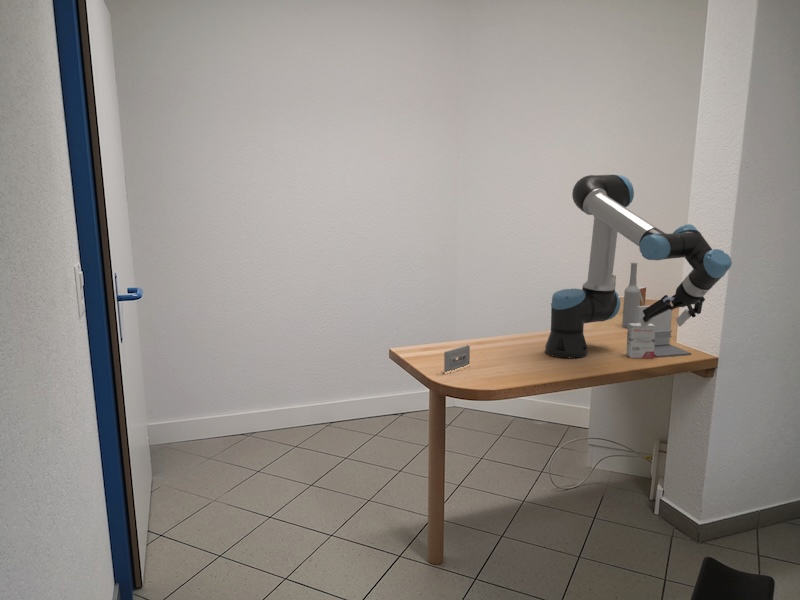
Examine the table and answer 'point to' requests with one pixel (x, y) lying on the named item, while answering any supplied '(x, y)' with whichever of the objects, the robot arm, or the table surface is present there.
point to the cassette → (451, 356)
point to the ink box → (640, 341)
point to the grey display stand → (662, 334)
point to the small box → (642, 295)
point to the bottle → (631, 299)
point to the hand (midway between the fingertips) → (660, 324)
